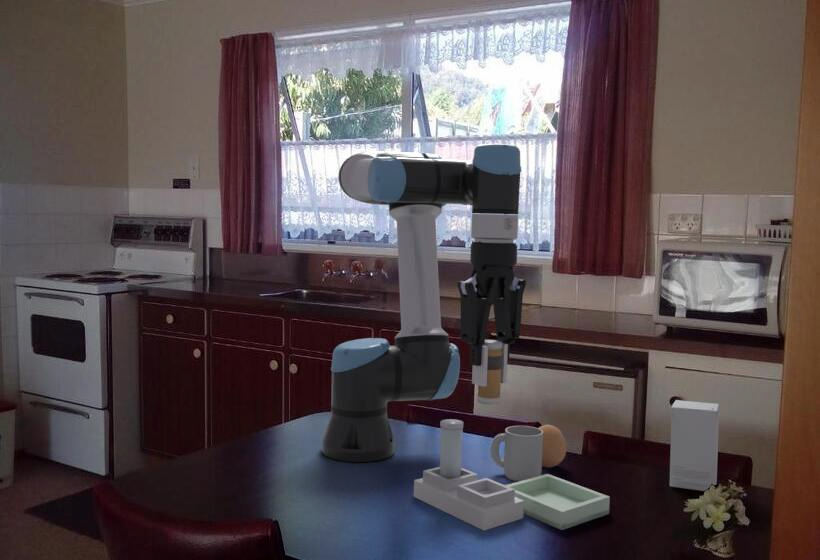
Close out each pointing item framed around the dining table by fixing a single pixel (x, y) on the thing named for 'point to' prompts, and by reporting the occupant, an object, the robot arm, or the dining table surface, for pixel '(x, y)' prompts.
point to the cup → (519, 452)
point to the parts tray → (560, 501)
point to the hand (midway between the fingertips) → (489, 382)
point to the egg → (552, 446)
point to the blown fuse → (492, 374)
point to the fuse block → (465, 487)
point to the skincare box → (694, 445)
